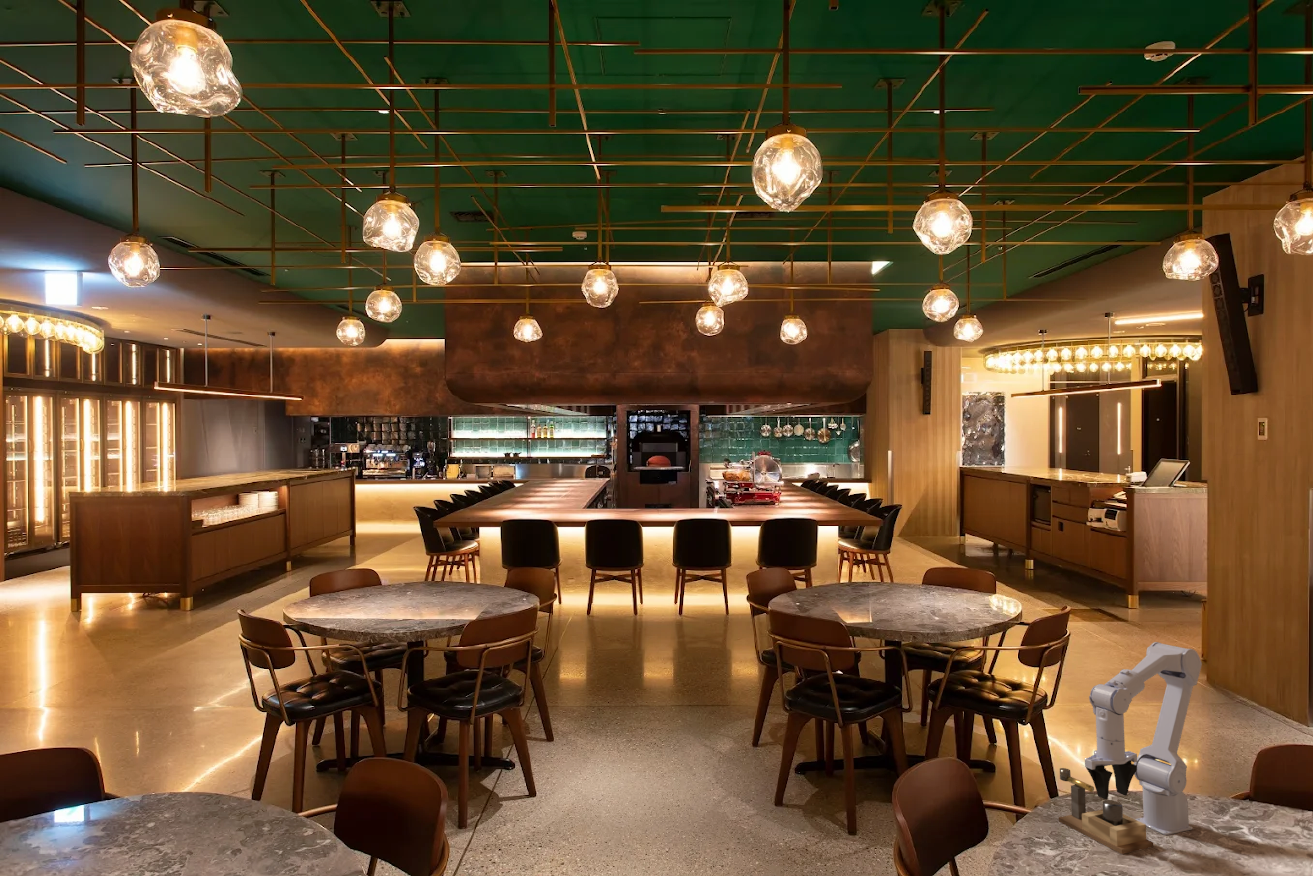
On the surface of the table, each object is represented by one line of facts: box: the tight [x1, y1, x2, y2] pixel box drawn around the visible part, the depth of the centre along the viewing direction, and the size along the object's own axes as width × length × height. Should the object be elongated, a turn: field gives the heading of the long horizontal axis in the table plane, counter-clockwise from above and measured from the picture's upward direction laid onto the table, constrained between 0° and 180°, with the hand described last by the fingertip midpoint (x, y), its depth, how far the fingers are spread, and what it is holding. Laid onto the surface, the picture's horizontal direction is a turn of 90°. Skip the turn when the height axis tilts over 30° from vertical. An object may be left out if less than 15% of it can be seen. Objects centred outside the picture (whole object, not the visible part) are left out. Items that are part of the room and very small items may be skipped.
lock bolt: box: [1059, 767, 1095, 793], centre depth 185 cm, size 2×9×2 cm, turn 19°
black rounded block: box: [1102, 799, 1124, 826], centre depth 175 cm, size 4×4×7 cm
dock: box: [1058, 784, 1154, 855], centre depth 177 cm, size 10×17×8 cm, turn 19°
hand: (1112, 795), depth 175 cm, fingers open, 6 cm apart
